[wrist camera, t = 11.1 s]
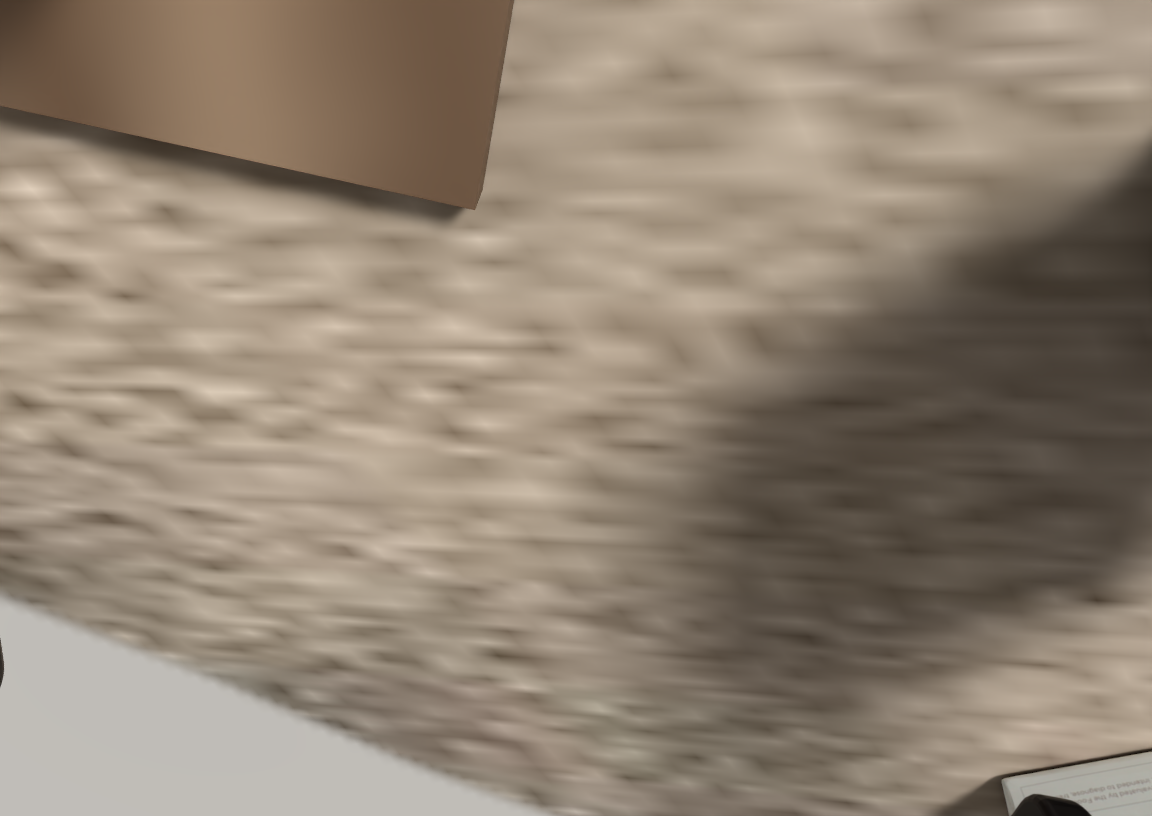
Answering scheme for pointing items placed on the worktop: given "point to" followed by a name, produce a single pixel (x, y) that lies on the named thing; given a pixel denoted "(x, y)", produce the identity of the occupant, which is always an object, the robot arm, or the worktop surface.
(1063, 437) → the worktop surface
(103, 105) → the shelf board
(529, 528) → the worktop surface
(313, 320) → the worktop surface
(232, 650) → the worktop surface
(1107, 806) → the supplement box
